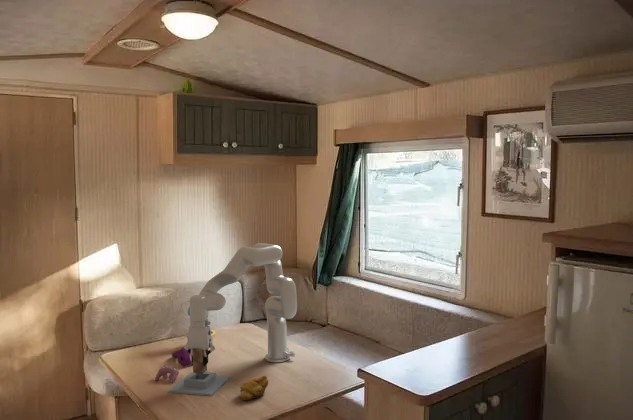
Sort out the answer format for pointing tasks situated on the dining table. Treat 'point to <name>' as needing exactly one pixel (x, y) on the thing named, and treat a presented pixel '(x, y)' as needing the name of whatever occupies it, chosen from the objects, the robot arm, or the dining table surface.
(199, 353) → the walnut block
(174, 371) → the video game controller
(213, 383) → the grey square socket base
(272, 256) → the robot arm
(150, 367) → the dining table surface
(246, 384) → the bread roll
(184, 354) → the mounting bracket
